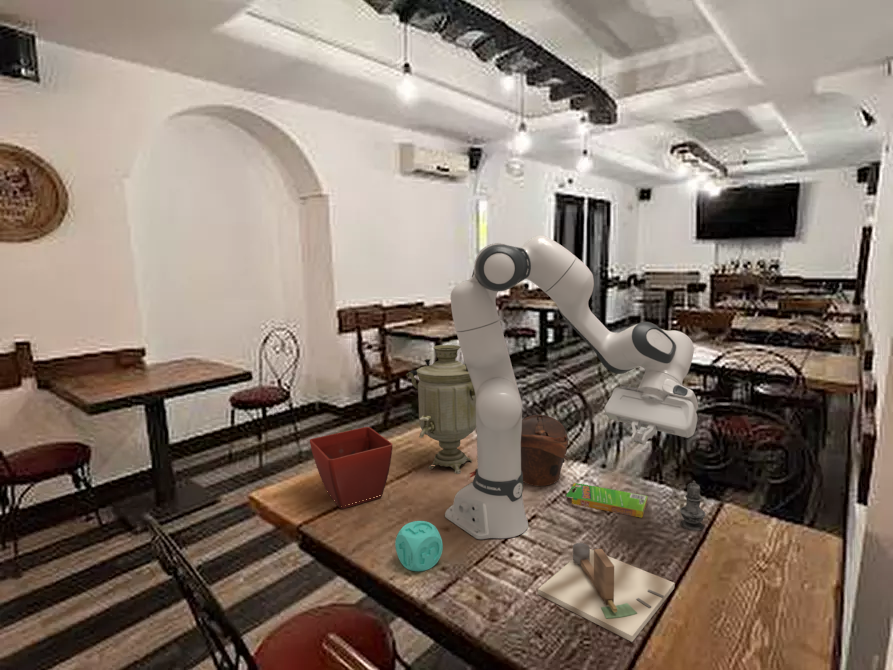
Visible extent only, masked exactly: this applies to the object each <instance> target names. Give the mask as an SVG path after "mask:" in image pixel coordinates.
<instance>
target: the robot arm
mask: <svg viewBox="0 0 893 670" xmlns="http://www.w3.org/2000/svg"><path fill="white" fill-rule="evenodd" d="M524 280H528V281H530V282H531V283H533V284H535V285H536V286H537V287H538V288H539V289H540V290H542V291H543V293H545V294H546V295H547V296H548V297H550V299H551V300H552V301H553V302H554V303H555V305H556V306H557V308H558V311H559V313H560V315H561V316H562V318H563V319H564V320H565V321H566V322H567V323H568V325H569V326H570V327H571V328H572V329H573V330H574V331H575V332H576V333H577V334H578V335H579V336H580V338H582V339H583V340H584V342H585V343H587V345H588V346H590V348H591V349H592V350H593V351H594V353H595V355H596V356H597V358H598V360H599V361H600V363H601V364H602V366H603V367H604V368H605V369H607V371H609V372H611V373H612V374H617V375H618V374H619V375H622V374H626V373H628V372H630V371H632V370H634V369H636V368H639V367H642V368H643V369H644V370H645V372H644V374H643V376H642V378H641V381H640V383H639V386H638V387H635V386H629V385H620V386H618V387H615V388H614V389H613V390H612V394H611V395H610V397H609V399H608V401H607V402H606V404H605V406H604V408H603V409H604V413H605V415H606V417H607V418H608V419H609V420H612V421H616V422H621V423H623V424H628V425H631V429H632V435H631V438H630V440H631V442H632V443H637V444H640V445H644V446H645V445H646V444H647V442H648V440H649V439H651V438H652V437H653V436H655V435H656V434H657V431H658V432H662V433H666V434H670V435H673V436H674V435H675V436H677V437H678V436H679V437H683V438H688V439H689V438H690V437H692V436H693V435H694V434H695V431H696V428H697V424H698V423H697V422H698V414H697V411H698V409H699V403H698V402H699V401H698V399H697V397H696V395H695V392H694V391H693V390H692V389H690V388H689V387H688V388H687V386H684V385H683V381H684V379H685V378H686V377H687V375H688V373H689V371H690V368H691V365H692V361H693V357H694V351H695V350H694V343H693V340H692V339H691V338H690V337H689V336H688V335H687V334H685V333H684V332H682V331H680V330H673V329H672V330H665V329H663V328H661V327H659V326H658V325H656V324H655V323H652V322H650V321H644V322H643V321H642V322H639V323H637V324H634V325H632V326H630V327H628V328H626V329H624V330H622V331H619V332H613V331H610V330H609V329H608V328H607V327H606V326H605V325H604V324H603V322H601V321H600V320H599V318H597V316H595V314H594V313H593V311H591V309H590V307H589V300H590V298H591V296H592V294H593V291H594V287H595V281H594V275H593V272H592V271H591V270H590V268H589V267H588V266H587V265H586V264H585V263H584V262H583V261H582V260H581V259H579V258H578V257H577V256H576V255H575V254H573V253H572V252H571V251H570V250H568V249H567V248H566V247H564V246H563V245H561V244H560V243H558V242H557V241H555V240H553V239H551V238H550V237H548V236H546V235H543V234H539V235H535V236H533V237H531V238H530V239H528V240H527V241H526V242H524V244H523V245H522V246H521V247H518V246H512V245H508V244H505V243H501V242H495V243H492V244H488V245H487V246H484V247H483V248H482V249H481V250H480V251H479V252H478V253H477V255H476V257H475V261H474V265H473V270H472V275H471V278H469V279H468V280H465V281H462V282H459V283H458V284H456V285H455V286H454V287H453V288H452V290H451V291H450V306H451V314H452V320H453V325H454V329H455V331H456V335H457V339H458V343H459V346H460V347H461V348H460V351H461V353H462V354H461V355H462V358H463V361H464V364H466V366H467V369H468V372H469V375H470V378H471V381H472V384H473V387H474V391H475V396H476V428H475V429H476V449H477V450H476V451H477V452H476V457H477V468H475V470H473V471H472V472H470V473H469V478H472V477H473V479H472V482H470V483H468V484H467V485H466V486H464V487H463V488H461V489H460V490H458V491H457V493H456V494H455V496H454V499H453V504H452V505H451V506H450V507H448V508H447V509H446V510H445V512H444V517H445V518H446V519H447V520H449V521H450V522H451V523H453V524H455V526H457V527H459V528H460V529H462V530H464V531H465V532H466V533H467V534H469V535H471V537H473V538H474V539H476V540H486V539H510V538H514V537H517V536H519V535H522V534H523V533H524V532H526V531H527V529H528V527H529V522H528V518H527V516H526V515H527V514H526V512H525V511H526V510H525V505H524V499H523V492H524V491H523V490H524V482H523V473H522V471H521V431H522V420H523V401H522V397H521V395H520V391H519V388H518V383H517V379H516V376H515V373H514V372H515V371H514V368H513V366H512V361H511V358H510V354H509V350H508V349H509V348H508V346H507V341H506V338H505V336H504V335H505V333H504V331H503V328H502V324H501V320H500V316H499V312H498V307H497V305H496V297H497V295H498V293H499V292H504V291H507V290H510V289H512V288H515V286H517V285H518V284H520V283H521V282H523V281H524ZM641 428H646V429H647V430H646V431H645V432H644V433H640V432H638V431H640V430H641Z"/></svg>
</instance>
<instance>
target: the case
mask: <svg viewBox="0 0 893 670" xmlns="http://www.w3.org/2000/svg"><path fill="white" fill-rule="evenodd" d="M568 446H569V436H568V433H567V431H566V429H565V427H564V425H563V424H562V423H561V422H560V421H558V420H557V419H555V418H553V417H551V416H550V415H549V416H548V415H546V414H533V415H529V416H527V417H524V418H522V431H521V471H522V473H523V483H525V484H527V485H531V486H534V487H536V486H537V487H543V486H544V487H546V486H550V485H554V484H555V483H557V482H558V481H559V479H560V478H561V477H560V476H561V472H562V467H563V464H565V460H566V461H569V458H568V456H566V455H567V449H568Z"/></svg>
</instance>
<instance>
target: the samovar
mask: <svg viewBox="0 0 893 670" xmlns="http://www.w3.org/2000/svg"><path fill="white" fill-rule="evenodd" d="M433 349H434V350H435V352H436V354H435V355H436V358H437V359H438V360H437V361H435V362H433V363H432V364H430V363H431V360H432V359H431V358H426V359H424V362H425V366H421V367H419V368H417V369H416V370H415V369H414V370H410V371H408V372H406V377H407V378H410V379H411V384H412V385H413V387H414V388H415V389H417V394H418V424H419V427H420V429H421V431H420V433H419V436H418V438H424V437H425V435H426V436H428V437H429V438H431V439H433V440H434V441H438V445H439V446H438V447H440V448H442V449H441V450H439V451H438V452H437V454H435V456H434V459H433V462H432V463H431V464H432V465H436V466H438V465H439V466H440V467H447V468H448V467H451V468H452V469H453V470H454V474H456V475H457V474H461V473H462V470H461V469H460V467H461V465H462V464H465V463H466V462H467V461H470V462H471V463H472V462H473V459H471V457H468V455H466V454H465V452H463V451H462V450H461V449H459V447H460V446H461V440H464V439H465V438H467V437H468V436H470V435H471V434H472V433H473V432H474V431H475V429H476V396H475V391H474V387H473V384H472V381H471V378H470V375H469V372H468V369H467V366H466V364H465V363H462V361H459V360H457V358H458V356H459V355H458V351H459V350H460V349H461V347H460V345H456V344H441V345H440V344H439V345H435V346H433ZM416 375H417V377H418V380H419V381H418V383H417V379H416V378H415V376H416ZM431 464H430V465H428V469H429V470H433V468H435V467H436V466H431Z"/></svg>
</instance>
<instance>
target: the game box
mask: <svg viewBox="0 0 893 670" xmlns="http://www.w3.org/2000/svg"><path fill="white" fill-rule="evenodd" d="M568 490H569V491H567V494H565V497H567V498H571V505H576V506H581V507H586V508H592V509H595V510H601V511H605V512H606V511H607V512H612V513H616V514H620V515H621V514H622V515H626V516H630V517H637V518H641V519H642V518H643V516H644V515H645V512H646V511H645V510H646V507H647V505H648V498H649V497H648V495H643V494H640V493H639V494H638V493H633V492H628V491H622V490H618V489H611V488H606V487H601V486H595V485H589V484H585V483H584V484H583V483H578V482H577V483H576V482H574V483H573V484H572V486H571V487H570V489H568ZM573 491H574V492H573Z"/></svg>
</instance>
